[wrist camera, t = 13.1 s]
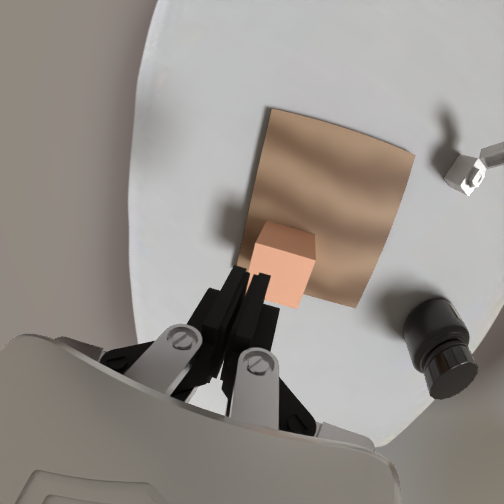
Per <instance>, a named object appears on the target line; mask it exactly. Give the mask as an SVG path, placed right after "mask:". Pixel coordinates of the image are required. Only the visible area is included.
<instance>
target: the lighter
mask: <svg viewBox="0 0 504 504" xmlns="http://www.w3.org/2000/svg"><path fill="white" fill-rule="evenodd" d="M501 165H504V142H502V143H498V144H495V145H492V146H489V147H486V148H483V149H481V152H480V157H479V159H478V158H474V157H470V156H465V155H459V156H458V157H457V159H456V160H455V162H454V163H453V165H452V166H451V168H450V169H449V171H448V172H447V174H446V175H445V177H444V180H445V181H446V182H447V184H448V185H449V186H450V187H451V188H453V189H455V190H458V191H460V192H462V193H464V194H466V195H468V196H469V195H470V194H471V193H472V191H473V190H474V188H475V187H477V188H478V186H479V185H480V183H481V182H482V180H483V178H484V177H485V175H484V172H485V171H486V168H487V169H489V168H493V167H497V166H501Z"/></svg>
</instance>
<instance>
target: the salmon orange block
mask: <svg viewBox="0 0 504 504" xmlns="http://www.w3.org/2000/svg"><path fill="white" fill-rule="evenodd" d="M315 261H316V248H315V235H314V234H311V233H308V232H304V231H301V230H298V229H294V228H291V227H288V226H284V225H281V224H277V223H274V222H270V221H266V223H265V225H264V227H263V229H262V231H261V233H260V235H259V237H258V239H257V241H256V243H255V247H254V251H253V255H252V259H251V263H250V267H249V271H248V272H249V273H250V277H249V281H248V286H247V290H248V287H249V285H250V282H251V280H252V277H253V275H254V274H256V275H259V272H260V273H264V274H267V275H271V278H270V282H269V285H268V289H267V292H266V295H265V299H264V300H268V301H271V302H274V303H278V304H281V305H285V306H288V307H292V308H295V309H297V308H298V306H299V303H300V301H301V298H302V296H303V293H304V290H305V288H306V285H307V283H308V280H309V277H310V275H311V272H312V269H313V267H314V264H315ZM247 290H246V292H247Z"/></svg>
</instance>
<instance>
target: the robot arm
mask: <svg viewBox="0 0 504 504" xmlns="http://www.w3.org/2000/svg"><path fill="white" fill-rule="evenodd" d="M246 270H247V269H246V268H243V267H240V266H236V265H234V267H233V269H232V270H231V272H230V274H229V276H228V278H227V280H226V281H225V283H224V285H223V287H222V289H221V291H219V290H216V289H212V288H209V289H208V290H207V292H206V293H205V295H204V296H203V298H202V300H201V301H200V303H199V305H198V306H197V308H196V310H195V311H194V313H193V315H192V316H191V318H190V320H189V321H188V323H187V324H176V325H173V326H170V327H169V328H167V329H166V330H165V331H164V332H163V333H162V334H161V335H160V336H159V338H158V339H157V340H156V341H152V342H147V343H143V344H138V345H134V346H128V347H124V348H119V349H114V350H111V351H108V352H106V351H104V349H103V348H100V347H97V346H94V345H90V344H87V343H83V342H80V341H77V340H74V339H71V338H68V337H63V336H62V337H58V338H56V339H52V338H50V337H46V336H42V335H37V334H22V335H19V336H17V337H15V338H13V339H12V340H10V341H9V342H8V343H7V344H6V345H4V346H3V347H2V348H1V349H0V504H401V489H400V481H399V476H398V473H397V470H396V468H395V466H394V465H393V464H392V462H391V461H389V460H388V459H387V458H385V457H384V456H382V455H380V454H378V453H377V452H375V446H374V443H373V442H372V441H371V440H370V439H369V438H367V437H365V436H363V435H359V434H356V433H353V432H350V431H347V430H344V429H342V428H339V427H336V426H333V425H330V424H328V423H325V422H323V423H322V424H321V423H318V422H316V421H315V420H314V418H313V417H312V415H311V414H310V413H309V412H308V411H307V409H306V408H305V407H304V406H303V405H302V404H301V402H300V401H299V400H298V399H297V398H296V397H295V395H294V394H293V393H292V392H291V391H290V389H289V388H288V387H287V386H286V385H285V383H284V382H283V381H282V380H281V379H280V377H279V363H278V360H277V358H276V357H275V356H274V355H273V354H272V353H271V352H270V351H271V347H272V342H273V338H274V333H275V329H276V324H277V320H278V315H279V310H280V308H276V307H273V306H269V305H266V304H263V302H264V299H265V295H266V292H267V289H268V285H269V282H270V278H271V275H267V274H264V273H260V272H259V275H256V274H254V275H253V277H252V280H251V282H250V285H249V287H248V290H247V286H248V281H249V277H250V273H249V272H246ZM246 290H247V292H246ZM245 294H246V295H245ZM223 361H224V363H223ZM222 363H223V368H222V373H221V378H220V380H223V384H222V391H223V392H224V394H225V395H226V397H227V398H228V399H227V404H226V410H225V416H223V415H220V414H217V413H214V412H211V411H208V410H205V409H202V408H199V407H196V406H194V405H191V404H188V402H189V401H190V399H191V398H192V396H193V395H194V394H195V392H196V390H197V388H198V386H201V385H204V384H206V383H210V380H211V378H212V377H213V378H217V376H218V373H219V371H220V368H221V366H222Z"/></svg>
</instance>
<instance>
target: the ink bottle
mask: <svg viewBox="0 0 504 504" xmlns="http://www.w3.org/2000/svg"><path fill="white" fill-rule="evenodd" d="M403 333H404V338H405V341H406V344H407V348H408V351H409V354H410V357H411V360H412V363H413V366H414V368H415V369H416V370H417V371H419V372H420V373H423V374H424V376H425V379H426V383H427V386H428V390H429V393H430V396H431V397H433V398H434V399H445V398H450V397H452V396H454V395H456V394H458V393H460V392H461V391H462V390H464V389H465V388H467V387H468V385H469V384H470V383H471V382H472V381H473V380H474V378H475V376H476V374H477V370H478V366H477V364H476V362H475V360H474V358H473V356H472V354H471V352H470V350H469V348H468V344H469V332H468V329H467V327H466V326H465V324H464V322H463V321H462V319H461V317H460V316H459V314H458V312H457V311H456V309H455V308H454V306H453V305H452V304H451V303H450V302H449V301H447V300H444V299H433V300H429V301H426V302H424V303H422V304H420V305H419V306H418V307H416V308H415V309H414V310H413V311H412V312H411V314H410V315H409V317H408V318H407V320H406V323H405V325H404V331H403Z"/></svg>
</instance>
